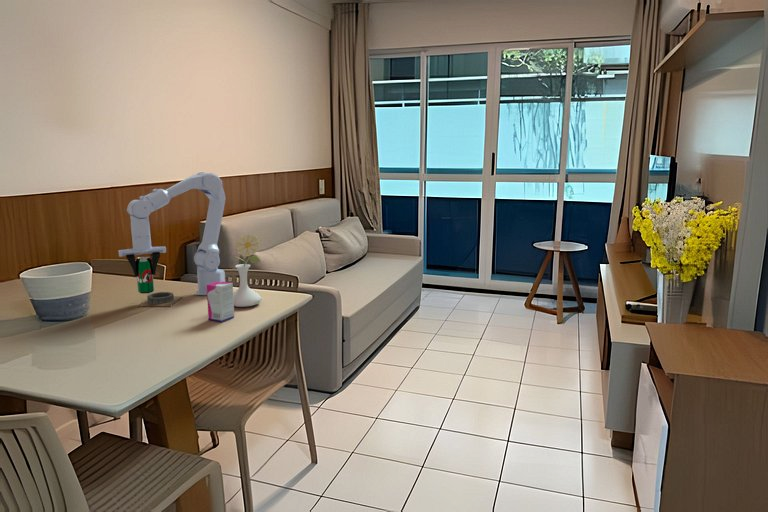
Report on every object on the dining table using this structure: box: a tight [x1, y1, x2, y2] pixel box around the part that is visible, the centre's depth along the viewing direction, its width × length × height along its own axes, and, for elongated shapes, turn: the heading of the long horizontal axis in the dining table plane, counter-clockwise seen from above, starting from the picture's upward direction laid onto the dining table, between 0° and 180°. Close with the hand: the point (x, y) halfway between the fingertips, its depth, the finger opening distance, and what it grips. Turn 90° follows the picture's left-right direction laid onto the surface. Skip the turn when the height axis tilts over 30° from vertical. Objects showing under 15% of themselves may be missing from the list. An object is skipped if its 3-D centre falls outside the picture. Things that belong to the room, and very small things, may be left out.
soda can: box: [135, 256, 155, 294], centre depth 179 cm, size 5×5×12 cm
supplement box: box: [206, 281, 235, 323], centre depth 165 cm, size 6×6×12 cm
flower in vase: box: [233, 233, 262, 308], centre depth 178 cm, size 13×11×25 cm
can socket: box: [137, 291, 184, 308], centre depth 183 cm, size 11×11×2 cm
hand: (144, 275), depth 179 cm, fingers closed on soda can, 5 cm apart
